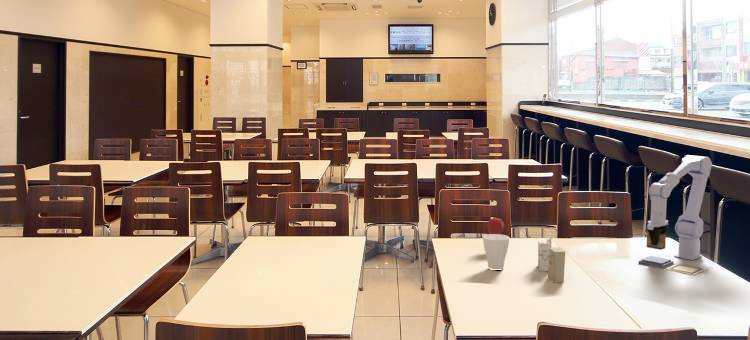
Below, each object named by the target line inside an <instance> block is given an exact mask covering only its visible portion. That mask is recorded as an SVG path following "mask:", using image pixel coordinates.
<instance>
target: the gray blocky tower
mask: <svg viewBox="0 0 750 340" xmlns="http://www.w3.org/2000/svg"><path fill="white" fill-rule="evenodd" d="M548 234H549V238H538V239H537V240H538V241H537V249H538V250H537V255H538V258H537V267H539V268H538V272H547V271H548V262H549V248H552V234H551V232H550V231H549V233H548Z"/></svg>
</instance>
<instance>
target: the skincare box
mask: <svg viewBox="0 0 750 340" xmlns="http://www.w3.org/2000/svg"><path fill="white" fill-rule="evenodd" d="M565 262H566V251H565V250H564V249H562V248H560V247H551V248H549V262H548V272H547V278H548V279H549V280H550V281H551V282H552V283H564V282H565V281H564V280H565V279H564V278H565V265H566V264H565Z"/></svg>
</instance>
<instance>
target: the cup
mask: <svg viewBox="0 0 750 340" xmlns="http://www.w3.org/2000/svg"><path fill="white" fill-rule="evenodd" d="M482 240H483V246H484V247H483V248H484V252H485V255H486V260H487V268H488V267H489V268H492V269H503V270H504V266H505V261H506V260H505V259H506V256H507V254H508V249H509V243H510V237H509V236H508V235H505V234H502V233H501V234H491V233H489V234H485V235H483V236H482Z"/></svg>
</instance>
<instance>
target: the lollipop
mask: <svg viewBox="0 0 750 340" xmlns="http://www.w3.org/2000/svg"><path fill="white" fill-rule="evenodd" d="M486 227H487V231H488V232H489V234H501V235H502V233H503V232H504V231H505V223H504V221H503V220H502V219H501V218H498V217H493V218H490V219H489V220H488V222H487V224H486Z"/></svg>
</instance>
